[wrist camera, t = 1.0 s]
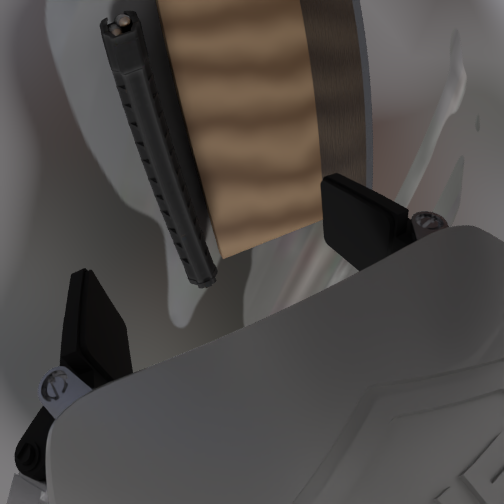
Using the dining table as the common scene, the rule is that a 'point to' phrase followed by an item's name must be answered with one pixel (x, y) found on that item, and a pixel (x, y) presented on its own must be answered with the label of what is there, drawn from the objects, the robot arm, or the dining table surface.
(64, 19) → the dining table surface
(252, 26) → the shelf board
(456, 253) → the robot arm
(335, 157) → the shelf wall
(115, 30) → the magazine
